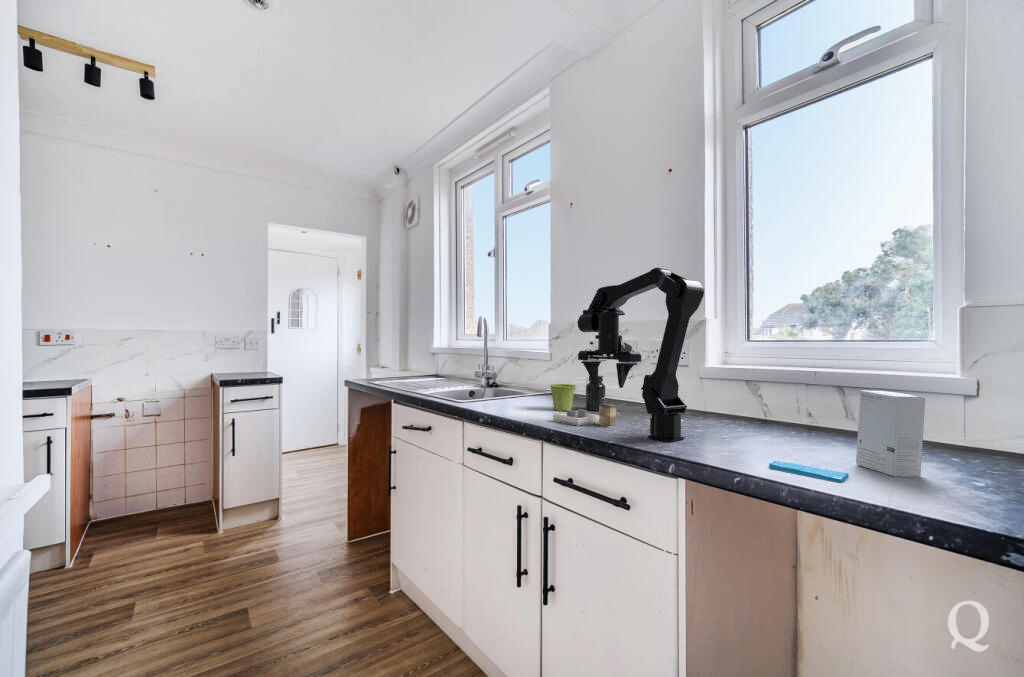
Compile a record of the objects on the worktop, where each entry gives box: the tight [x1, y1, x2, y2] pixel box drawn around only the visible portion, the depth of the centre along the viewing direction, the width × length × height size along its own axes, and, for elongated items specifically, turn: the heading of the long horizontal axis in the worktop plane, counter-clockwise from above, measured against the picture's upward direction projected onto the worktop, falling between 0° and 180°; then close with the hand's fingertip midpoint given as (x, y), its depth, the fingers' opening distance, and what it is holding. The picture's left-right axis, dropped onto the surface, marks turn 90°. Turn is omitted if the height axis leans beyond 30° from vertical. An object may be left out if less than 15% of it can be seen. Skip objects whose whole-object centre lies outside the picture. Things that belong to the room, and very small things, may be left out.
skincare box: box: [855, 389, 926, 478], centre depth 85 cm, size 8×6×15 cm
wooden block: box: [598, 402, 617, 428], centre depth 128 cm, size 4×2×6 cm, turn 38°
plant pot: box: [549, 383, 577, 412], centre depth 156 cm, size 9×9×9 cm
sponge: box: [768, 460, 849, 484], centre depth 83 cm, size 2×12×6 cm
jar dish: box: [552, 408, 599, 427], centre depth 133 cm, size 10×10×3 cm
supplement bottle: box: [585, 375, 606, 412], centre depth 157 cm, size 7×7×12 cm
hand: (608, 386), depth 128 cm, fingers open, 9 cm apart
